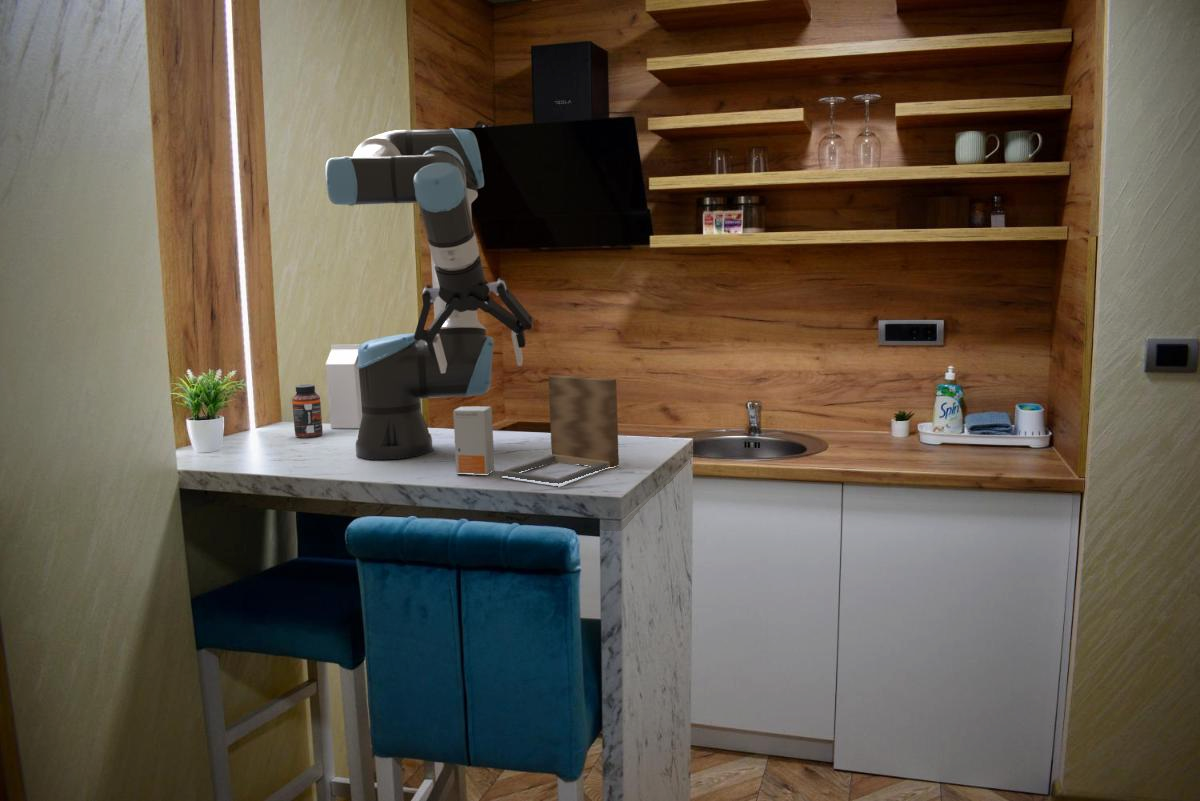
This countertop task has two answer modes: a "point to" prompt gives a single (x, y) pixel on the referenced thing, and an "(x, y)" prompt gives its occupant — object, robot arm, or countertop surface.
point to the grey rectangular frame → (594, 464)
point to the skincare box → (474, 440)
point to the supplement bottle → (307, 412)
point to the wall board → (584, 417)
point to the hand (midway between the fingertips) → (482, 365)
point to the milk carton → (344, 386)
